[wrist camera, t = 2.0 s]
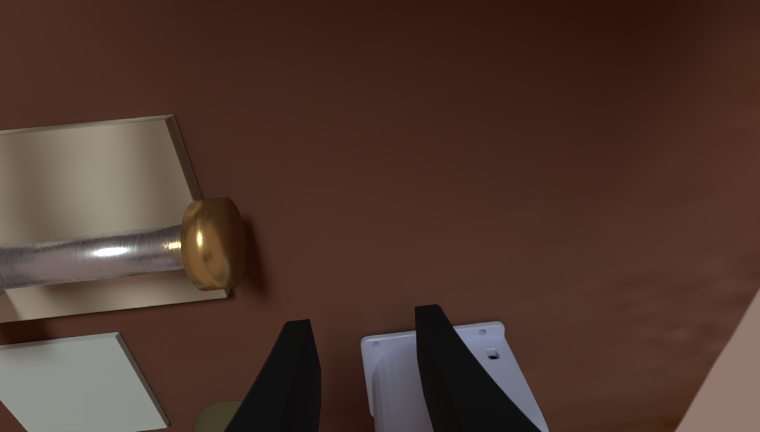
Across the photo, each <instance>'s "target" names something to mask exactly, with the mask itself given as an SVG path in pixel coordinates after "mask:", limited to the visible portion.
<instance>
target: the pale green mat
mask: <svg viewBox="0 0 760 432" xmlns="http://www.w3.org/2000/svg"><path fill="white" fill-rule="evenodd" d="M0 400H1V401H2V402H3V404H4V405H5V406H6V407H7V408H8V409H9V410H10V412H11V413H12V414H13V415H14V416H15V417H16V418H17V420H18V421H19V422H20V423H21V424H22V425H23V426H24V428H25V429H26V430H27V431H28V432H136V431H144V430H152V429H160V428H167V427H168V425H169V420H168V419H167V417H166V415H165V413H164V412H163V410H162V408H161V406H160V404H159V403H158V401H157V399H156V397H155V396H154V394H153V392H152V390H151V388H150V387H149V385H148V383H147V381H146V380H145V378H144V376H143V374H142V372H141V371H140V369H139V367H138V365H137V364H136V362H135V360H134V358H133V356H132V355H131V353H130V351H129V349H128V348H127V346H126V344H125V342H124V340H123V339H122V337H121V335H120V333H119V332H115V333H106V334H97V335H88V336H79V337H70V338H62V339H53V340H44V341H35V342H26V343H17V344H9V345H0Z"/></svg>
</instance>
